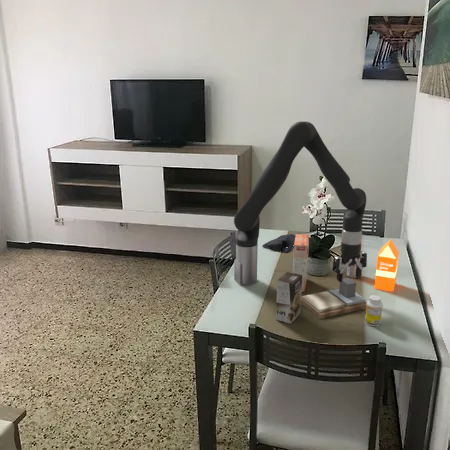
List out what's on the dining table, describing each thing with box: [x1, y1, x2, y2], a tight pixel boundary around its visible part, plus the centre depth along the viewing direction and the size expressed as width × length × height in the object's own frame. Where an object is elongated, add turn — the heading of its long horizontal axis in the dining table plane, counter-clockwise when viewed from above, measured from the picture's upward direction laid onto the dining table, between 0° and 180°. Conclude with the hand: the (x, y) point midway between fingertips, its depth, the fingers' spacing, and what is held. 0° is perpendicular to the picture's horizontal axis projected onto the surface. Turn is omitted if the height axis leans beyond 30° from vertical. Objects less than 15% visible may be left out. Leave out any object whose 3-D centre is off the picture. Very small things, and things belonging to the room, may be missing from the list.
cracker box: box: [292, 233, 310, 293], centre depth 200 cm, size 14×6×21 cm, turn 168°
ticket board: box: [301, 287, 367, 319], centre depth 186 cm, size 22×16×3 cm
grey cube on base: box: [329, 277, 366, 306], centre depth 187 cm, size 9×12×7 cm
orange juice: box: [374, 238, 400, 292], centre depth 198 cm, size 8×9×20 cm
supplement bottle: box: [364, 294, 384, 327], centre depth 171 cm, size 6×6×10 cm
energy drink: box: [346, 258, 360, 279], centre depth 210 cm, size 5×5×12 cm
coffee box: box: [275, 271, 302, 325], centre depth 175 cm, size 9×6×16 cm
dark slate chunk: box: [262, 233, 296, 253], centre depth 249 cm, size 15×22×5 cm
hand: (348, 279), depth 186 cm, fingers open, 8 cm apart
